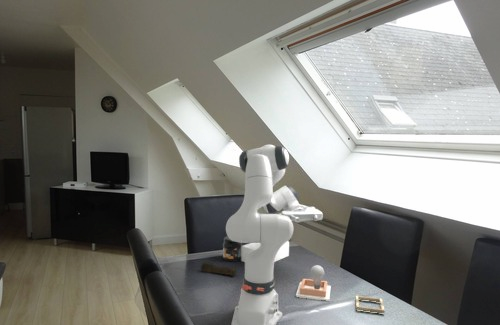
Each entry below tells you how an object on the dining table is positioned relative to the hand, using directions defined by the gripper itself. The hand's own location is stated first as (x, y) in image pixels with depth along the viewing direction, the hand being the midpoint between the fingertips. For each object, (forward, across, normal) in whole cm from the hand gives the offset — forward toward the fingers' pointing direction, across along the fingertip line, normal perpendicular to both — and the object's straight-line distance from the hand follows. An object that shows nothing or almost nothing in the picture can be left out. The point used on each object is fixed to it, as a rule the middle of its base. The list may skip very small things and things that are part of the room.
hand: (306, 219), depth 166 cm
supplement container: (-35, -31, +30) cm, 56 cm away
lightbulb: (+12, +1, +29) cm, 32 cm away
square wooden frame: (+28, +18, +30) cm, 45 cm away
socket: (+12, 0, +30) cm, 32 cm away
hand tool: (-15, -41, +30) cm, 53 cm away
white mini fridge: (-34, -12, +30) cm, 47 cm away
